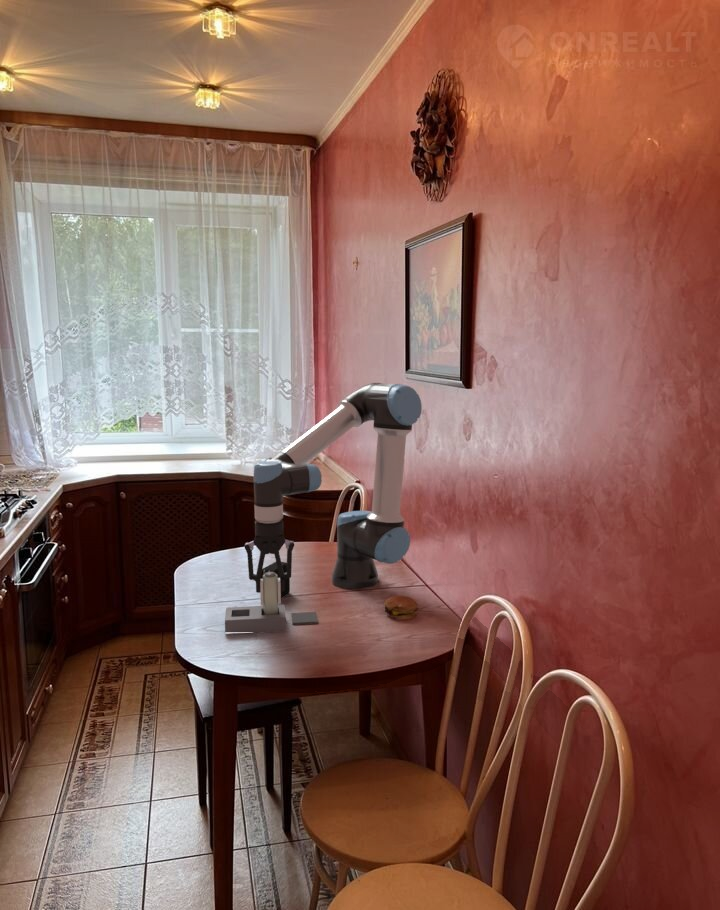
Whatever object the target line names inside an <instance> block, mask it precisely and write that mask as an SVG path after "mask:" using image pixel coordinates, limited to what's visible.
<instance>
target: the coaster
mask: <svg viewBox="0 0 720 910" xmlns="http://www.w3.org/2000/svg"><path fill="white" fill-rule="evenodd" d="M290 615H291V622H292V623H291V625H292V626H296V625H298V626H299V625H300V626H301V625H313V624H314V625H315V624H316V625H317V624H319V620H318V616H317V615H318V614H317V611H305V612H291V613H290Z"/></svg>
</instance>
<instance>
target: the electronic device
mask: <svg viewBox="0 0 720 910" xmlns="http://www.w3.org/2000/svg"><path fill="white" fill-rule="evenodd" d="M281 563H282V567H283V572H284V573H286V572H287V561H286V562H285V561H281ZM267 572H275V574H277V575H278V578H280V576H279V571H278V567H277V563H276V561H274V562H272V563H271V564H269V565H267V566H265V567H263V569H262V574H261V579H263V575H264V574H265V573H267ZM290 580H291V578H287V579H285V590H284V591H281V599H283V598H284V597H286V596H288V595H289V594H290V590H291V589H290V588H291V586H290V584H291V583H290Z"/></svg>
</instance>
